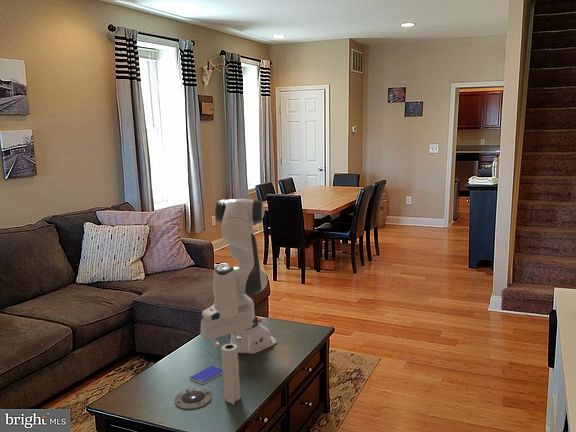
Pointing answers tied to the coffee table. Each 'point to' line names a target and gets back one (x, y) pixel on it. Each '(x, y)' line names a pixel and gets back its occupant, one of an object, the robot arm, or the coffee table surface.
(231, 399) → the paper towel roll
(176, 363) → the coffee table surface
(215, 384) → the coffee table surface
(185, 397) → the duct flange
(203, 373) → the hard drive
